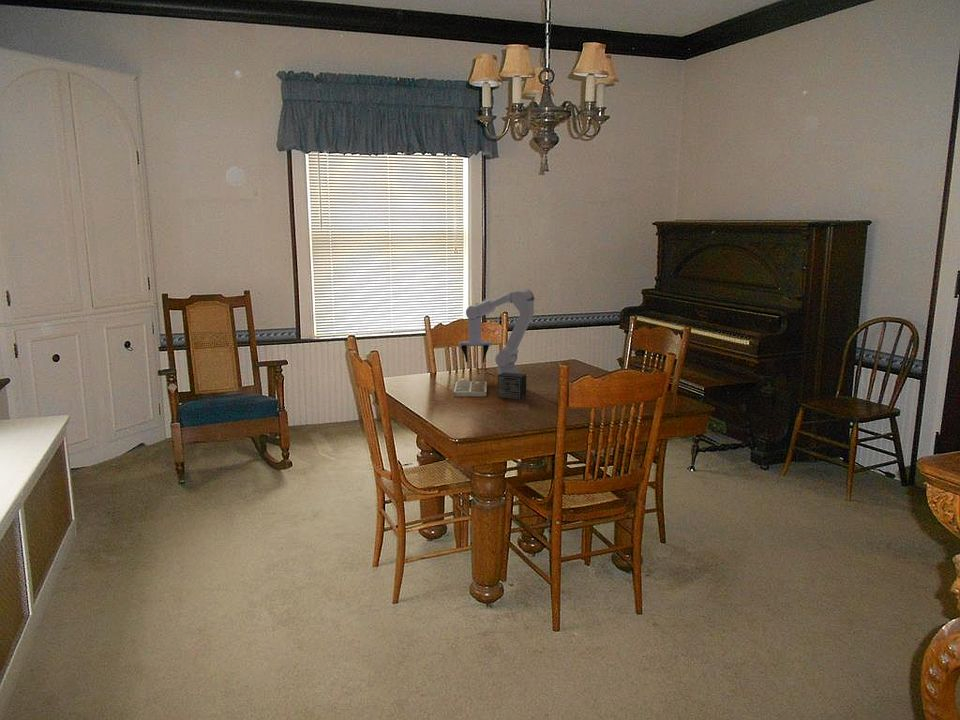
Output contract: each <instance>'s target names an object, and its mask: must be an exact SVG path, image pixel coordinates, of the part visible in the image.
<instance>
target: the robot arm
mask: <svg viewBox="0 0 960 720" xmlns="http://www.w3.org/2000/svg"><path fill="white" fill-rule="evenodd" d="M535 299H536V298H535V295H534V293H533V291H531V290H530V289H529V288H525V289H522V290H515V291H512V292H508V293H505V294H503V295H501V296H500V297H499V296H498V297H497V298H495V299H491V298H485V299H483V301H481V302H476V303H475V305H469V306H468V307H467V308H466V310H465V316H466V317H467V319H468V325H467V326H468V340H466V341H465V340H464V341H458V347H460V348H461V351H462V353H463V356H464V359H465V363H468V359H469V358H468V347H482V351H483V352H482V354H483V355H482V362H483V363H485V359H486V355H487V353H488V350H489V347H492V341H490V340H482V317H483V316H486V315H488V314H491V313H493V312H494V311H495V310H496V308H497V307H500V306H502V305H505V304H507V303H510V304H512V305H514V307H515V308H516V309H517V310H518V312H519V316H518V318H517V320H516V321H515V325H514V327H513V329H512V331H511V333H510V335H509V337H508V339H507V342H506V344H505V345H504V346H503V348H501V349H500V351H499V353H498V354H496V356H495V364H496V365H497V367H498V369H497V370H498V371H497V372H498V374H497V376H498V375H499V374H501V373H504V372H505V373H517V374H520V367H519V366H517V365H515V363H516V362H517V360H518V354H519V346H520V344H521V343H522V340H523V338H524V336H525V334H526V331H527V330H528V328H529V325H530V323H531V321H532V319H533V317H534V314H535V313H534V312H535V310H534V307H535V306H534V303H535Z"/></svg>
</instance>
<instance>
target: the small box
mask: <svg viewBox="0 0 960 720" xmlns="http://www.w3.org/2000/svg"><path fill="white" fill-rule="evenodd" d="M497 397H498V398H504V399H510V400H511V399H512V400H513V399H514V400H523V399H524V398H526V397H527V374H525V373H519V374H517V373H505V372H504V373H501V374H499V375H498V374H497Z"/></svg>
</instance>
